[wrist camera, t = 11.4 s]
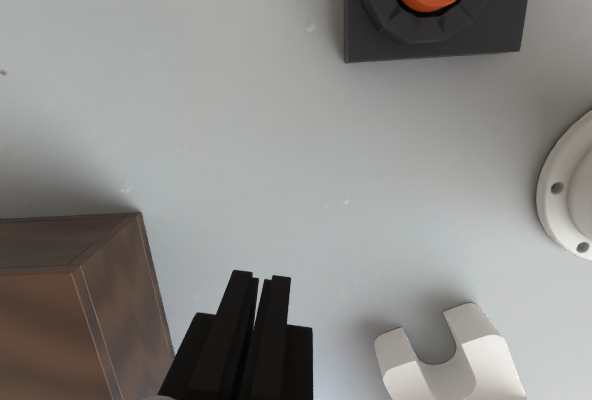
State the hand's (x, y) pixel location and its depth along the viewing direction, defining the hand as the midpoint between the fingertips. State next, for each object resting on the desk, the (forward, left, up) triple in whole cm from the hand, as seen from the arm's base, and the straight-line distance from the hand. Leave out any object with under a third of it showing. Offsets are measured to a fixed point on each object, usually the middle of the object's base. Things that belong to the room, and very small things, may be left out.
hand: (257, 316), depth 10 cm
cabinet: (+18, +10, -16) cm, 26 cm away
